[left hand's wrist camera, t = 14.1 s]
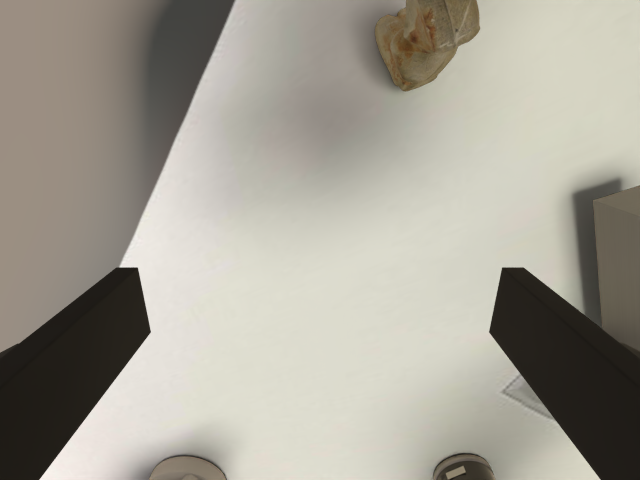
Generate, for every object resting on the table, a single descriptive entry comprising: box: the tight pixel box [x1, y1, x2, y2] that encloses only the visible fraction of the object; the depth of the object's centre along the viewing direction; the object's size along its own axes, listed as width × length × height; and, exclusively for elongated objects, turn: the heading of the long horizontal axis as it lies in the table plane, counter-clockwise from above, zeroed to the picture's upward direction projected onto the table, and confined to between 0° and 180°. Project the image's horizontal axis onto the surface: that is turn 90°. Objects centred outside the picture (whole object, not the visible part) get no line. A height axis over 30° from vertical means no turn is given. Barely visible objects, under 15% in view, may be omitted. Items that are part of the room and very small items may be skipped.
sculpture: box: [375, 0, 480, 91], centre depth 29 cm, size 6×7×15 cm
